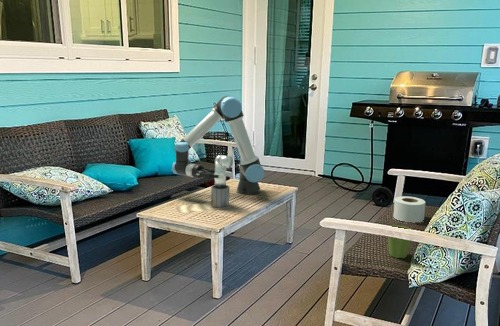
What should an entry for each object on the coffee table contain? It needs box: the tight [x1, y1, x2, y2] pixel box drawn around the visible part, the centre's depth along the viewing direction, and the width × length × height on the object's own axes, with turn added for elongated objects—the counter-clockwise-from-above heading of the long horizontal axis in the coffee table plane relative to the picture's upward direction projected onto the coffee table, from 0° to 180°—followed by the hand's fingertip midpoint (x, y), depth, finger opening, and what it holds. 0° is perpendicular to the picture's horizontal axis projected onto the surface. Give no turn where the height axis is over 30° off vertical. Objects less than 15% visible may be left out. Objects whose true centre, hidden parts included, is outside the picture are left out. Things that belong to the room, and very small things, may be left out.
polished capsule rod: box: [214, 154, 234, 189], centre depth 245 cm, size 9×6×21 cm
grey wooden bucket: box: [210, 184, 230, 209], centre depth 248 cm, size 10×10×11 cm
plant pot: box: [387, 225, 413, 259], centre depth 185 cm, size 12×12×11 cm
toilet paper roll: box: [392, 195, 427, 223], centre depth 233 cm, size 16×15×11 cm
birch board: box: [173, 202, 232, 214], centre depth 246 cm, size 30×13×2 cm, turn 113°
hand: (227, 175), depth 243 cm, fingers open, 7 cm apart
